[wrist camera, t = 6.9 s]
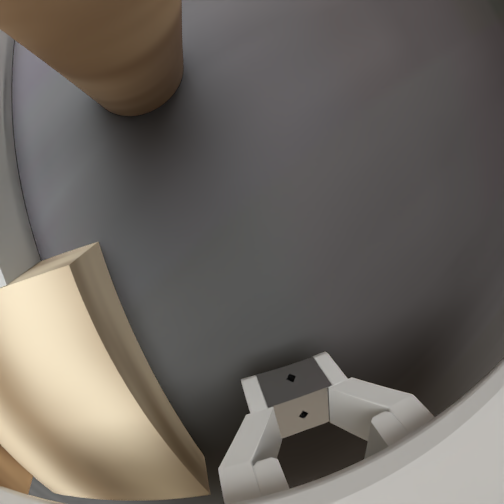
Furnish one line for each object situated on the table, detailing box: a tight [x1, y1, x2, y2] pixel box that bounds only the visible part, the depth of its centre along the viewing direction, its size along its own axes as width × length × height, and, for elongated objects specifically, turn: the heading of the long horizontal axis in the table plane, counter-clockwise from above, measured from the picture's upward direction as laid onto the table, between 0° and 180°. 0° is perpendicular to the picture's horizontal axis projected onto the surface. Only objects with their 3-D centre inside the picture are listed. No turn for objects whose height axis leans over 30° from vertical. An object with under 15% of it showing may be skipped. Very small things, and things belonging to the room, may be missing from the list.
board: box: [0, 242, 210, 500], centre depth 8 cm, size 10×12×3 cm
